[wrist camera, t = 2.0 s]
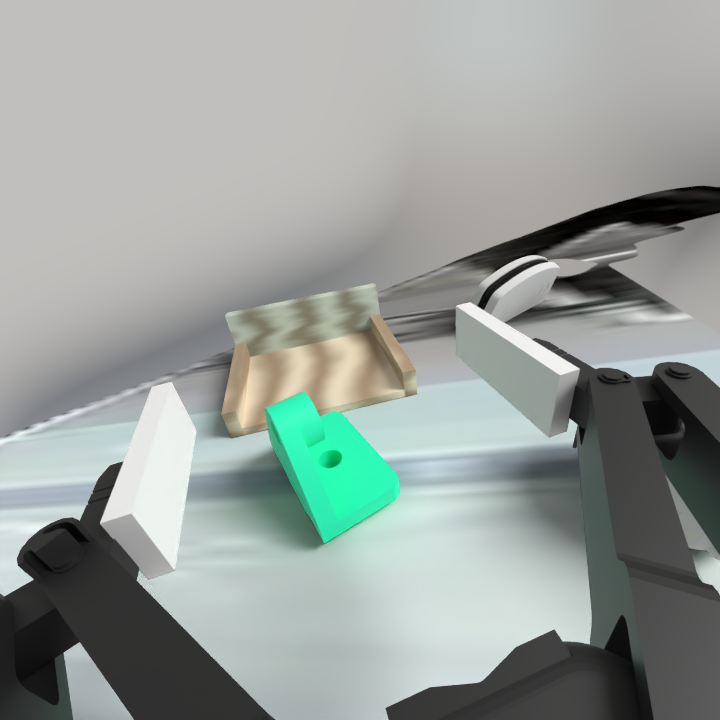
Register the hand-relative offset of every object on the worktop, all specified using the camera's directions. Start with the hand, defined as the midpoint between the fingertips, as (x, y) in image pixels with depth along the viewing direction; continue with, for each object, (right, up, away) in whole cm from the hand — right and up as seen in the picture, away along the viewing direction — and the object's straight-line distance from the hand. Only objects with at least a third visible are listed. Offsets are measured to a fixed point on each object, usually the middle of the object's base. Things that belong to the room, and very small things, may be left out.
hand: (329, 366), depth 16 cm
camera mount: (-1, -11, +18) cm, 21 cm away
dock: (-4, -1, +34) cm, 34 cm away
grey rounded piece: (+25, +7, +41) cm, 48 cm away
